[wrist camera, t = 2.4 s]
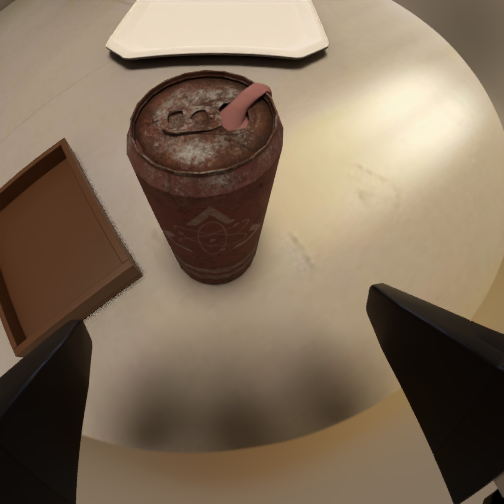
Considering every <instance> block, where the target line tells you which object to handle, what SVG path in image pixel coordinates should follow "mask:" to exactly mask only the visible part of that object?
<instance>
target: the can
mask: <svg viewBox="0 0 504 504" xmlns="http://www.w3.org/2000/svg"><path fill="white" fill-rule="evenodd" d="M282 145H283V126H282V123H281V121H280V118H279V116H278V112H277V110H276V107H275V105H274V102H273V100H272V92H271V89H270V88H269V87H268V86H267V85H264V84H260V83H255V82H253V81H251V80H250V79H248V78H246V77H244V76H241V75H237V74H233V73H230V72H226V71H212V70H203V71H195V72H189V73H184V74H181V75H178V76H175V77H173V78H170V79H167V80H165V81H163V82H162V83H160V84H159V85H157V86H156V87H154V88H152V89H151V90H149V91H148V93H147V94H146V95H145V96H144V97H143V98H142V99H141V100H140V101H139V102H138V103H137V105H136V107H135V109H134V112H133V114H132V116H131V118H130V128H129V131H128V134H127V155H128V158H129V160H130V162H131V164H132V167H133V169H134V171H135V173H136V176H137V178H138V180H139V182H140V184H141V187H142V189H143V191H144V193H145V195H146V197H147V200H148V202H149V204H150V206H151V208H152V210H153V212H154V214H155V216H156V219H157V221H158V223H159V225H160V227H161V229H162V231H163V233H164V235H165V237H166V239H167V241H168V243H169V245H170V247H171V249H172V251H173V253H174V255H175V257H176V259H177V261H178V262H179V264H180V266H181V268H182V269H183V270H184V271H185V272H186V273H187V274H188V275H189V276H190V277H192V278H194V279H196V280H198V281H201V282H203V283H211V284H219V283H224V282H229V281H231V280H233V279H235V278H237V277H239V276H240V275H242V274H243V273H244V271H245V270H246V269H247V268H248V267H249V266H250V264H251V262H252V260H253V258H254V256H255V253H256V249H257V245H258V241H259V237H260V233H261V229H262V225H263V221H264V218H265V214H266V210H267V206H268V202H269V198H270V194H271V190H272V186H273V182H274V178H275V174H276V170H277V166H278V162H279V158H280V154H281V150H282Z"/></svg>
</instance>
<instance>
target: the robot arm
mask: <svg viewBox="0 0 504 504" xmlns="http://www.w3.org/2000/svg"><path fill="white" fill-rule="evenodd" d="M366 311H367V314H368V317H369V319H370V321H371V324H372V326H373V329H374V331H375V334H376V336H377V339H378V341H379V344H380V346H381V348H382V350H383V352H384V354H385V356H386V358H387V360H388V362H389V364H390V366H391V368H392V370H393V372H394V374H395V376H396V378H397V379H398V381H399V383H400V385H401V387H402V389H403V391H404V393H405V395H406V397H407V399H408V401H409V403H410V405H411V407H412V410H413V412H414V414H415V416H416V418H417V420H418V422H419V424H420V426H421V428H422V431H423V433H424V435H425V437H426V439H427V441H428V444H429V446H430V448H431V450H432V453H433V454H434V457H435V460H436V462H437V464H438V467H439V469H440V471H441V474H442V476H443V479H444V481H445V483H446V486H447V488H448V491H449V493H450V496H451V498H452V501H453V503H454V504H460V503H461V502H463V501H465V500H466V499H468V498H469V497H471V496H472V495H474V494H475V493H476V492H478V491H479V490H481V489H482V488H483V487H485V486H486V485H488V484H489V483H490V482H491V481H494V482H495V484H496V486H497V488H498V489H497V490H496V491H494V492H493V493H492V494H490V495H489V496H488V497H486V498H485V499H484V501H483V504H504V334H502V333H499V332H497V331H494V330H491V329H489V328H487V327H484V326H482V325H480V324H477V323H475V322H473V321H470V320H468V319H466V318H464V317H461V316H459V315H457V314H454V313H452V312H450V311H447V310H445V309H443V308H440V307H438V306H436V305H433V304H431V303H429V302H426V301H424V300H422V299H419V298H417V297H415V296H412V295H410V294H408V293H405V292H403V291H400V290H398V289H396V288H393V287H391V286H388V285H386V284H384V283H379V284H374V285H372V286H371V287H370V289H369V294H368V300H367V305H366ZM91 354H92V340H91V338H90V335H89V333H88V331H87V329H86V326H85V324H84V322H83V321H82V320H81V319H76V320H69V321H68V322H67V323H65V324H64V325H63V326H62V327H60V328H59V329H58V330H57V331H55V332H54V333H53V334H52V335H50V336H49V337H48V338H47V339H45V340H44V341H43V342H42V343H41V344H39V345H38V346H37V347H36V348H34V349H33V350H32V351H31V352H30V353H28V354H27V355H26V356H25V357H24V358H22V359H21V360H20V361H19V362H18V363H17V364H15V365H14V366H13V367H12V368H11V369H10V370H8V371H7V372H6V373H5V374H4V375H3V376H1V377H0V504H76V487H77V472H78V460H79V450H80V441H81V433H82V426H83V419H84V412H85V406H86V400H87V394H88V387H89V376H90V364H91Z"/></svg>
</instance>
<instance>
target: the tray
mask: <svg viewBox="0 0 504 504" xmlns="http://www.w3.org/2000/svg"><path fill="white" fill-rule="evenodd" d="M141 276H142V273H141V272H140V270H139V268H138V267H137V265H136V264H135V262H134V260H133V259H132V257H131V256H130V254H129V252H128V251H127V249H126V247H125V246H124V244H123V242H122V241H121V239H120V237H119V236H118V234H117V232H116V231H115V229H114V227H113V226H112V224H111V222H110V220H109V219H108V217H107V215H106V213H105V211H104V210H103V208H102V206H101V204H100V202H99V201H98V199H97V197H96V195H95V193H94V191H93V189H92V188H91V186H90V184H89V182H88V180H87V178H86V176H85V174H84V172H83V170H82V168H81V166H80V164H79V162H78V160H77V158H76V156H75V154H74V152H73V151H72V149H71V147H70V146H69V144H68V143H67V141H66V139H65V138H63V139H62V140H60V141H59V142H57V143H56V144H55V145H53V146H52V147H51V148H49V149H48V150H47V151H45V152H44V153H43V154H41V155H40V156H39V157H37V158H36V159H35V160H33V161H32V162H31V163H30V164H28V165H27V166H26V167H25V168H23V169H22V170H21V171H20V172H19V173H17V174H16V175H15V176H14V177H13V178H12V179H10V180H9V181H8V182H7V183H6V184H5V185H4V186H3V187H1V188H0V318H1V321H2V324H3V326H4V329H5V332H6V334H7V337H8V339H9V342H10V344H11V346H12V349H13V351H14V353H15V356H16V357H25V356H26V355H27V354H28V353H30V352H31V351H32V350H33V349H34V348H36V347H37V346H38V345H39V344H41V343H42V342H43V341H44V340H45V339H47V338H48V337H49V336H50V335H52V334H53V333H54V332H55V331H57V330H58V329H59V328H60V327H62V326H63V325H64V324H65V323H67V322H68V321H69V320H76V319H81V320H83V319H84V318H85V317H87V316H88V315H89V314H91V313H92V312H93V311H95V310H96V309H97V308H99V307H100V306H101V305H103V304H104V303H105V302H107V301H108V300H109V299H111V298H112V297H113V296H115V295H116V294H117V293H119V292H120V291H122V290H123V289H124V288H126V287H127V286H128V285H130V284H131V283H132V282H134V281H135V280H137V279H138V278H139V277H141Z"/></svg>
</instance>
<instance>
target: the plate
mask: <svg viewBox="0 0 504 504" xmlns="http://www.w3.org/2000/svg"><path fill="white" fill-rule="evenodd" d="M328 46H329V41H328V39H327V36H326V34H325V31H324V29H323V26H322V24H321V21H320V19H319V17H318V14H317V12H316V10H315V7H314V5H313V3H312V1H311V0H137V1H136V2H135V3H134V5H133V6H132V7H131V9H130V10H129V11H128V13H127V14H126V15H125V17H124V18H123V19H122V21H121V22H120V24H119V25H118V27H117V28H116V29H115V31H114V32H113V34H112V35H111V37H110V38H109V40H108V41H107V43H106V48H107V49H109V50H110V51H112V52H113V53H115V54H117V55H118V56H120V57H121V58H123V59H124V60H138V59H147V58H158V57H171V56H191V55H239V56H259V57H273V58H284V59H293V60H298V59H304V58H306V57H308V56H310V55H313V54H315V53H317V52H319V51H322V50H324V49H327V48H328Z"/></svg>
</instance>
